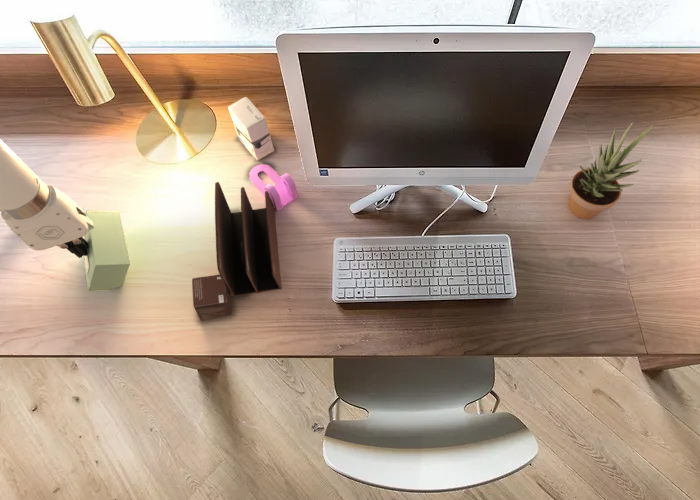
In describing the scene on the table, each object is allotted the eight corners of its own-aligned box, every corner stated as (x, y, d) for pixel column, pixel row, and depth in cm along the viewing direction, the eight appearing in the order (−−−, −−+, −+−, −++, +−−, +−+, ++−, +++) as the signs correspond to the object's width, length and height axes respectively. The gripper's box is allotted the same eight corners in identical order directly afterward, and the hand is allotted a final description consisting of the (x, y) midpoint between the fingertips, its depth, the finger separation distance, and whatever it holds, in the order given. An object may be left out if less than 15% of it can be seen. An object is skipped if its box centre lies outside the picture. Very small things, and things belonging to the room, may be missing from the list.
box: (199, 293, 98) (191, 277, 91) (229, 289, 99) (224, 272, 92) (200, 322, 95) (192, 307, 89) (232, 317, 96) (227, 302, 89)
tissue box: (86, 291, 96) (94, 265, 90) (78, 238, 102) (85, 210, 96) (120, 289, 100) (130, 264, 94) (111, 238, 106) (119, 211, 100)
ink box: (239, 142, 117) (226, 105, 107) (256, 131, 118) (245, 94, 108) (258, 164, 114) (246, 128, 103) (276, 153, 115) (266, 117, 104)
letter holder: (233, 299, 98) (212, 267, 85) (229, 215, 107) (211, 176, 95) (283, 291, 98) (270, 259, 86) (275, 209, 107) (262, 169, 95)
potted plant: (602, 189, 106) (661, 106, 85) (609, 227, 102) (673, 149, 80) (555, 187, 107) (601, 103, 85) (559, 224, 103) (609, 146, 81)
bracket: (299, 199, 108) (294, 180, 102) (278, 213, 107) (272, 195, 101) (266, 164, 113) (259, 143, 107) (245, 176, 112) (238, 157, 106)
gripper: (-24, 231, 77) (45, 280, 93) (72, 199, 79) (124, 253, 95) (-25, 194, 80) (42, 248, 96) (67, 165, 82) (118, 222, 98)
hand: (82, 250), depth 96 cm, fingers closed
